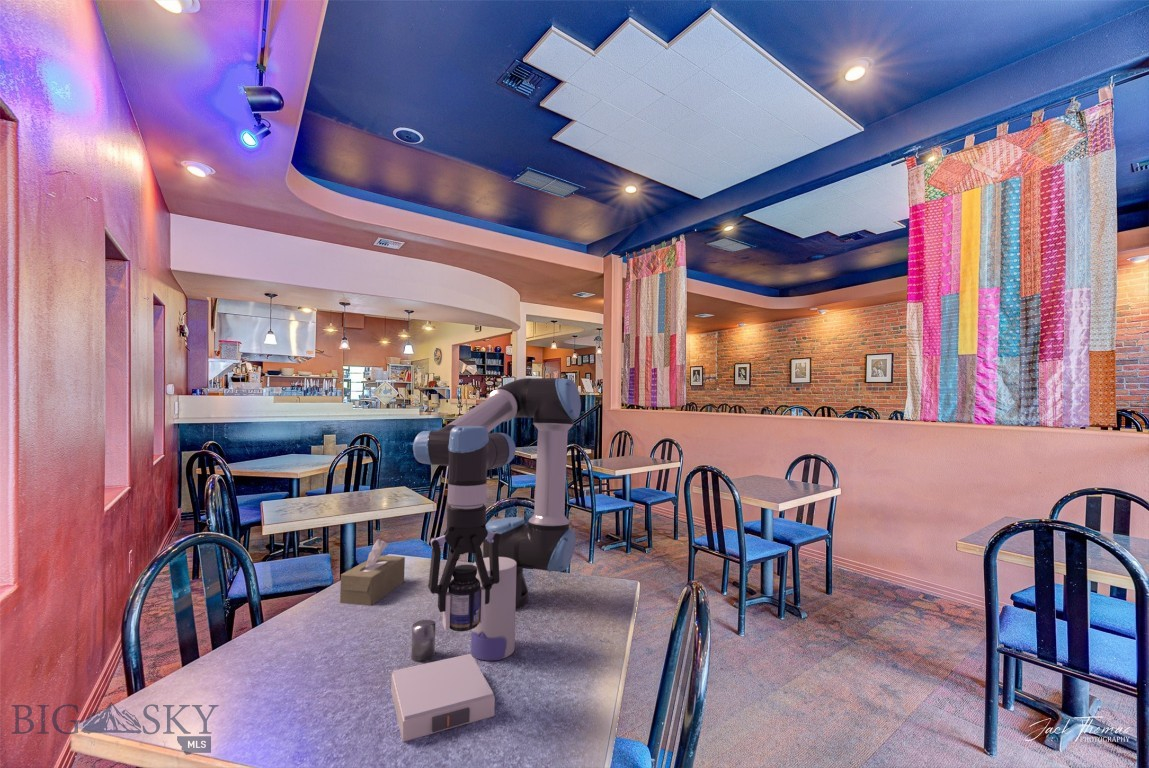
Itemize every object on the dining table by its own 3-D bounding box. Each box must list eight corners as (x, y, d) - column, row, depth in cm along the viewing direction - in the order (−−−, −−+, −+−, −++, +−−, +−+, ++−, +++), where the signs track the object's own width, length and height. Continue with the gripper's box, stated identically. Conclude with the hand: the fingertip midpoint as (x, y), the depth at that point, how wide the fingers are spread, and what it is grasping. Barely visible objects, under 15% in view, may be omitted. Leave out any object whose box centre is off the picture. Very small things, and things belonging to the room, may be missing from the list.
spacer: (432, 648, 113) (433, 618, 113) (436, 659, 109) (437, 627, 109) (409, 653, 111) (410, 622, 111) (413, 664, 106) (414, 631, 107)
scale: (471, 672, 104) (471, 652, 104) (495, 718, 89) (496, 695, 89) (391, 691, 96) (391, 670, 96) (403, 744, 81) (404, 720, 81)
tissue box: (370, 606, 136) (372, 549, 136) (338, 603, 137) (340, 546, 138) (404, 582, 154) (406, 531, 155) (376, 579, 156) (378, 529, 156)
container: (521, 644, 116) (523, 558, 117) (502, 665, 107) (504, 572, 107) (484, 636, 119) (486, 553, 120) (462, 656, 110) (464, 566, 111)
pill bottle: (468, 615, 99) (470, 560, 100) (485, 625, 95) (487, 568, 96) (441, 624, 95) (443, 567, 96) (457, 635, 91) (459, 575, 91)
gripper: (506, 497, 104) (504, 608, 103) (413, 504, 95) (409, 625, 94) (519, 504, 97) (516, 622, 96) (420, 512, 88) (415, 642, 87)
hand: (463, 623), depth 95 cm, fingers closed on pill bottle, 6 cm apart
